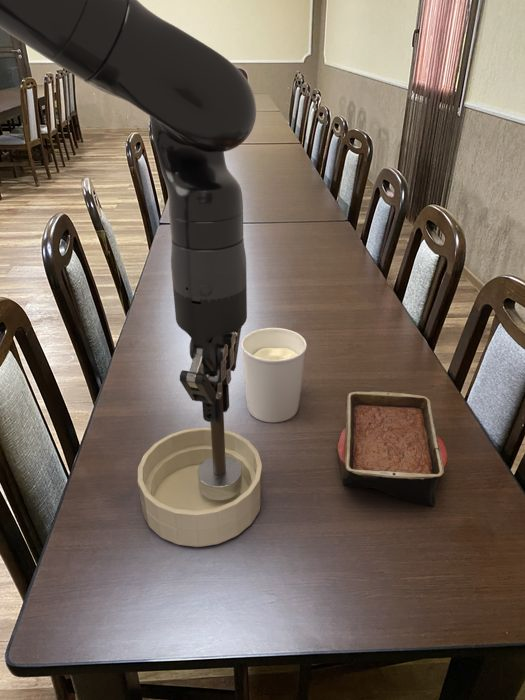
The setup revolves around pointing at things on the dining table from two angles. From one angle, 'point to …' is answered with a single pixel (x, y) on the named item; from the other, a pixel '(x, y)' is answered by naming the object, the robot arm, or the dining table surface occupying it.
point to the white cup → (273, 373)
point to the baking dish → (392, 445)
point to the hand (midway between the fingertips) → (216, 414)
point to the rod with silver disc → (219, 468)
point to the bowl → (196, 489)
